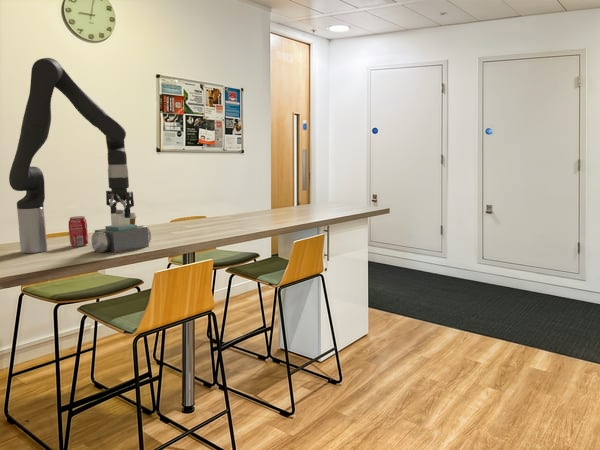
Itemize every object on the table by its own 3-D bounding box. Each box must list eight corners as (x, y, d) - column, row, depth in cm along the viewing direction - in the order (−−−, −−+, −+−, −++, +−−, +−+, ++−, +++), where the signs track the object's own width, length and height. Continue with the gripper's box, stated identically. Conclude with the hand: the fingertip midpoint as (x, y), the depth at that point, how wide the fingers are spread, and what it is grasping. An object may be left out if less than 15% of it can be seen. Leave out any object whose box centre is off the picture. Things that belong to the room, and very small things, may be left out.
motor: (89, 251, 199) (87, 228, 198) (136, 242, 217) (134, 221, 216) (107, 254, 192) (106, 230, 191) (154, 245, 210) (153, 223, 209)
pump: (111, 228, 203) (110, 210, 202) (122, 227, 207) (121, 209, 206) (119, 229, 200) (118, 210, 199) (130, 228, 204) (129, 209, 203)
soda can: (82, 243, 218) (80, 215, 217) (92, 245, 214) (89, 216, 212) (66, 246, 212) (64, 217, 211) (76, 247, 208) (73, 218, 207)
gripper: (98, 176, 202) (101, 217, 204) (121, 177, 194) (124, 219, 196) (115, 175, 208) (117, 215, 210) (137, 176, 200) (140, 217, 202)
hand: (120, 217), depth 203 cm, fingers open, 8 cm apart
